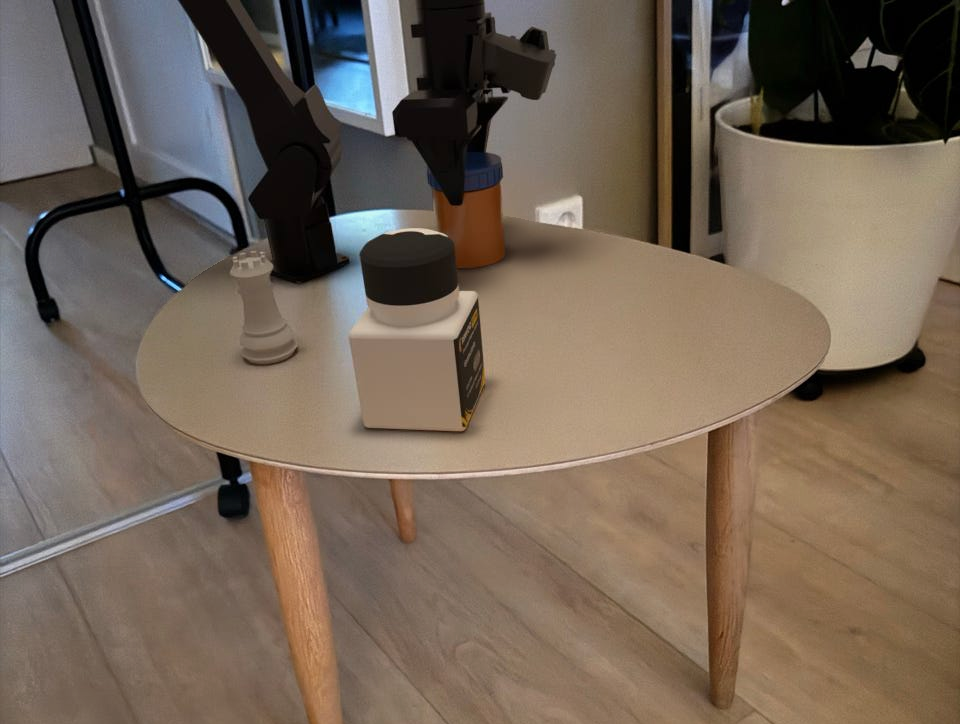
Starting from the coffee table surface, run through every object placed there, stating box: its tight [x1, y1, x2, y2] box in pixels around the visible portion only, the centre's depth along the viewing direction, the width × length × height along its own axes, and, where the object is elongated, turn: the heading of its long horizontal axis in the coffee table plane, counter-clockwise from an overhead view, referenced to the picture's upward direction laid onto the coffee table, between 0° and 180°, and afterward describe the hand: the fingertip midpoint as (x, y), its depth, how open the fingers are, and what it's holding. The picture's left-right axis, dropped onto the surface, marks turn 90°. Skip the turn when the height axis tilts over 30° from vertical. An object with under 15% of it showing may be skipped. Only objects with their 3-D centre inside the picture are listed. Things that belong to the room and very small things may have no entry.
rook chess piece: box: [229, 250, 298, 365], centre depth 71 cm, size 4×4×8 cm
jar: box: [430, 180, 506, 269], centre depth 86 cm, size 6×6×8 cm
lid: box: [426, 151, 504, 191], centre depth 84 cm, size 7×7×2 cm
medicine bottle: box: [348, 227, 486, 432], centre depth 61 cm, size 7×7×12 cm
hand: (466, 193), depth 85 cm, fingers closed on lid, 7 cm apart
